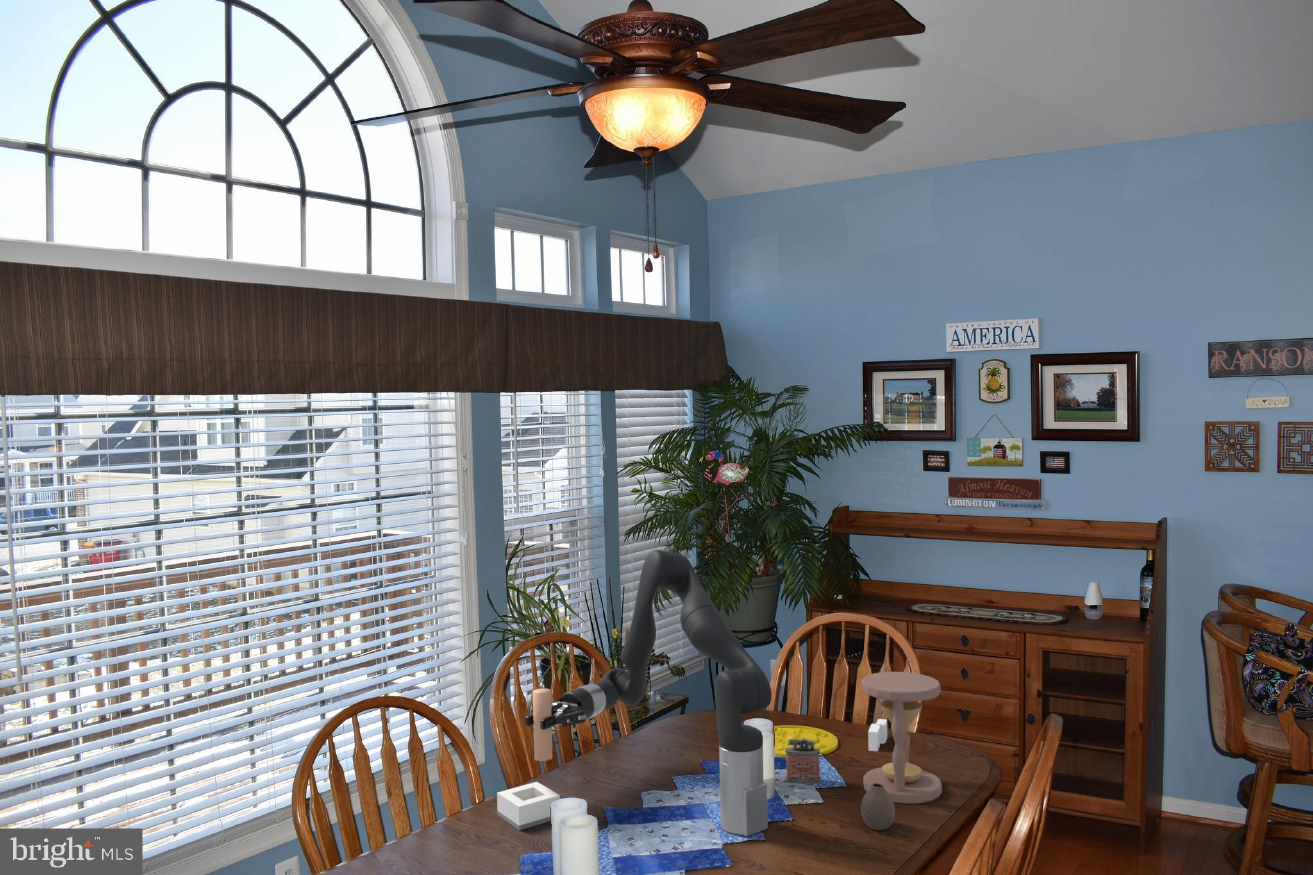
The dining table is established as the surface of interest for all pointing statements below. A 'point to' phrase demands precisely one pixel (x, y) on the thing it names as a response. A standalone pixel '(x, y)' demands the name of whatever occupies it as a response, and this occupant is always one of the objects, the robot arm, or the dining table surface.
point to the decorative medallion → (821, 738)
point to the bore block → (526, 805)
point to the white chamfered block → (877, 734)
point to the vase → (878, 808)
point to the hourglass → (902, 735)
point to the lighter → (802, 762)
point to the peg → (540, 736)
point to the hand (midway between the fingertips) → (534, 723)
